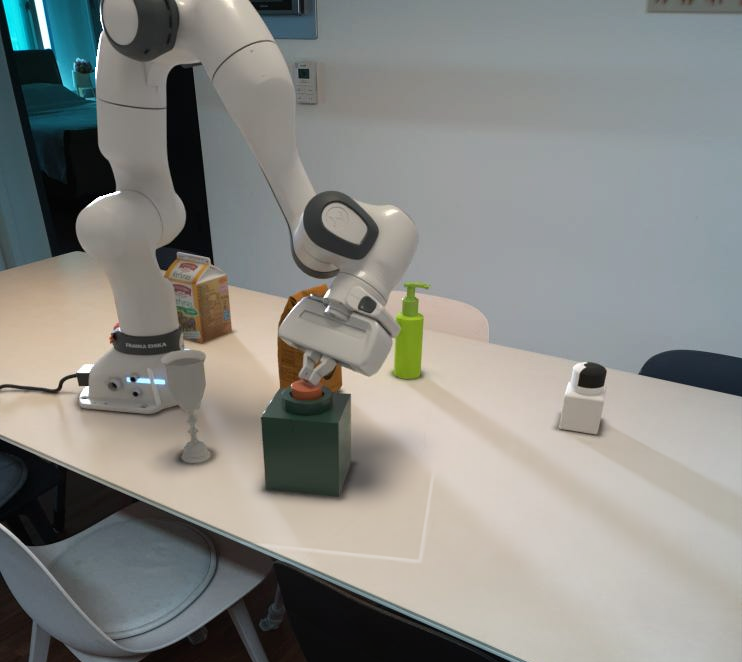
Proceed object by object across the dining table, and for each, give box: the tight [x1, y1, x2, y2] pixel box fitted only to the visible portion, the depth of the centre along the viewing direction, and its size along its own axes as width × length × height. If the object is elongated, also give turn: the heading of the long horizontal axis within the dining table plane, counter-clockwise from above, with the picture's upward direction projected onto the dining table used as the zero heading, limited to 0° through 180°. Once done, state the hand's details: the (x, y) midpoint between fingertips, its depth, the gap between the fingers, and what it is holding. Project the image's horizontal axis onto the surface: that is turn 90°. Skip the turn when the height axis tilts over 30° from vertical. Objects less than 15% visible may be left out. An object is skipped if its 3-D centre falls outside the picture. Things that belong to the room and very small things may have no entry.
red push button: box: [291, 380, 323, 400], centre depth 112 cm, size 5×5×3 cm
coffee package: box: [276, 283, 343, 393], centre depth 142 cm, size 10×12×22 cm
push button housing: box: [260, 386, 352, 497], centre depth 116 cm, size 12×11×15 cm
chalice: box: [161, 349, 212, 464], centre depth 121 cm, size 7×7×18 cm
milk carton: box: [163, 251, 233, 344], centre depth 174 cm, size 11×11×19 cm
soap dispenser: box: [393, 281, 432, 380], centre depth 154 cm, size 6×7×20 cm
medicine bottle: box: [558, 361, 608, 435], centre depth 136 cm, size 7×7×12 cm
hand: (306, 381), depth 111 cm, fingers closed, pressing on red push button
